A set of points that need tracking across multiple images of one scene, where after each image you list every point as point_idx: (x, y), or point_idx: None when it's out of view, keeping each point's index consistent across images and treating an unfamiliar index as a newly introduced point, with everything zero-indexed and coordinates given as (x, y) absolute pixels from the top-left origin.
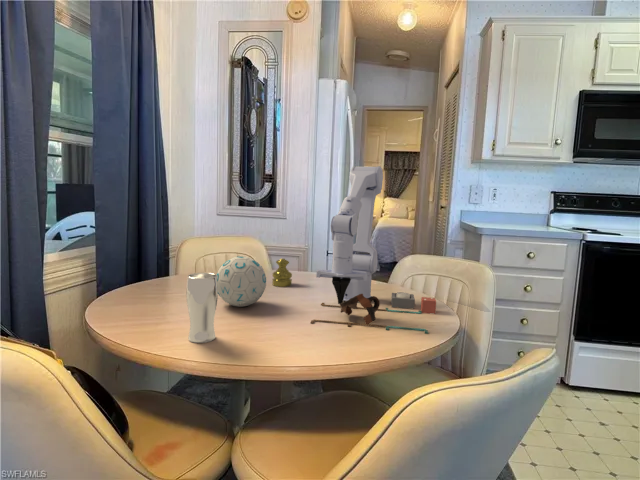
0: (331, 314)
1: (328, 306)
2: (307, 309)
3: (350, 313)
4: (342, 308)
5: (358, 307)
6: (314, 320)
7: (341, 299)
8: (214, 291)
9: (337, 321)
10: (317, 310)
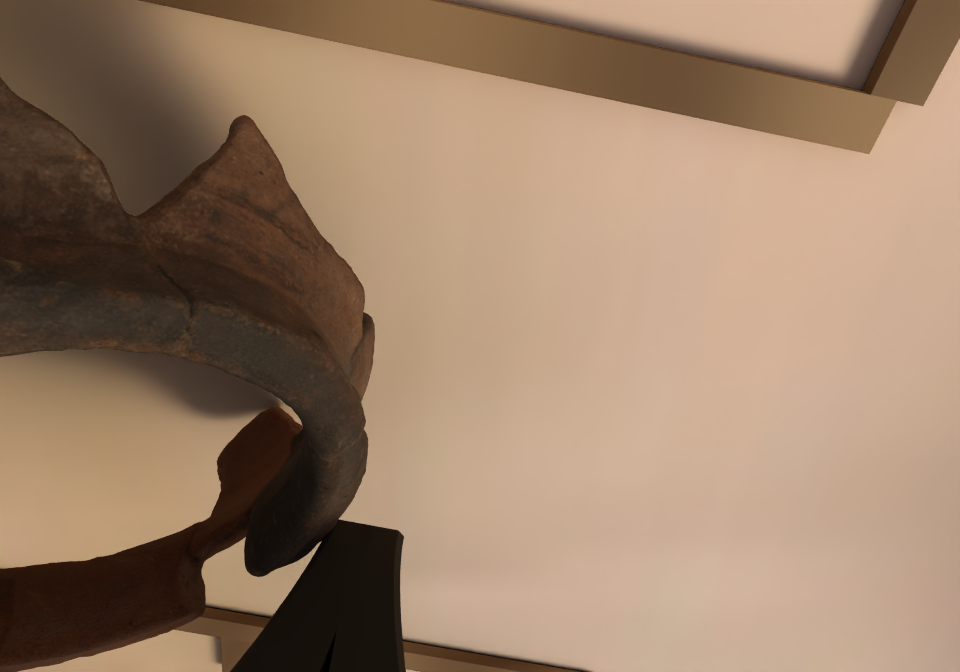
0: (513, 435)
1: (522, 662)
2: (796, 587)
3: (247, 427)
4: (311, 277)
5: (186, 626)
6: (874, 90)
7: (321, 583)
8: None
9: (444, 63)
10: (676, 560)
